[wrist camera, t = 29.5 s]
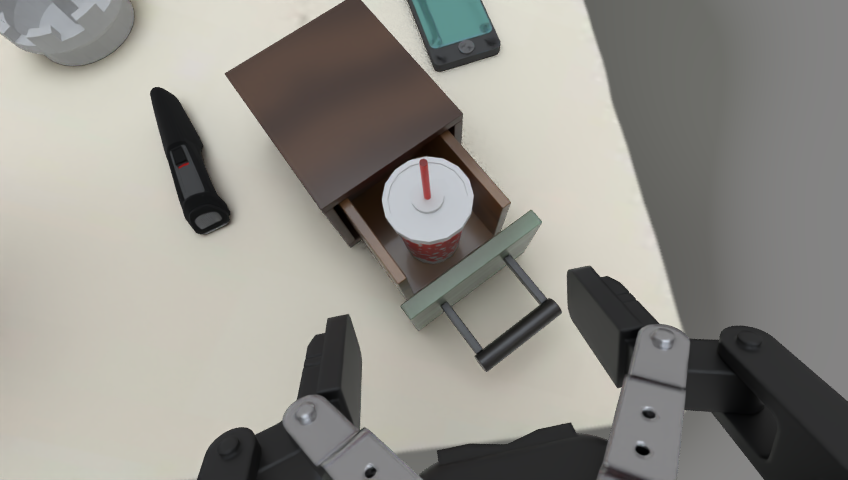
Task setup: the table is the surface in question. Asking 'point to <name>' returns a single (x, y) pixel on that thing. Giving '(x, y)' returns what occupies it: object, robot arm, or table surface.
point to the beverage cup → (428, 206)
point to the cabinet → (343, 104)
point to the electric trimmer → (188, 165)
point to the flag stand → (67, 27)
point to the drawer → (469, 264)
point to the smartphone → (455, 31)
